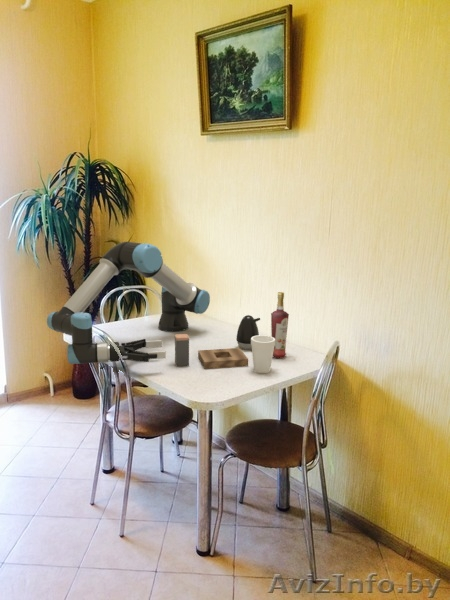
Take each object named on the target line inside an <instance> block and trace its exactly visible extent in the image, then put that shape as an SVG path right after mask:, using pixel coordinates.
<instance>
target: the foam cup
mask: <svg viewBox="0 0 450 600" xmlns="http://www.w3.org/2000/svg"><path fill="white" fill-rule="evenodd" d="M251 346H252V349H251V353H252V355H251V356H252V363H253V364H252V365H253V371H254V372H255V373H258V374H267V373H270V371H271V368H272V361H273V358H274V357H273V351H274V346H275V338H273V337H271V336H270V335H265V334H263V335H262V334H261V335H260V334H259V335H258V336H253V337H252V338H251Z"/></svg>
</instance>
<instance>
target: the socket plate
mask: <svg viewBox="0 0 450 600" xmlns="http://www.w3.org/2000/svg"><path fill="white" fill-rule="evenodd" d="M197 352H198V353H197V355H198V356H197V357H198V360H199V362H200V363H201V365H202V367H203V369H204V370H211V369H213V370H214V369H224V368H226V369H227V368H228V369H229V368H238V367H239V368H240V367H241V368H243V367H249V358H248V357H247V355H246V354H245V353H244V352H243V351H242V348H241V347H235V348H234V347H233V348H231V347H230V348H219V349H215V348H214V349H202V350H201V349H200V350H199V349H198V351H197Z"/></svg>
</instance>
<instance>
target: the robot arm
mask: <svg viewBox="0 0 450 600" xmlns="http://www.w3.org/2000/svg"><path fill="white" fill-rule="evenodd" d="M123 270H130V271H131V270H132V271H135V272H137V273H138V274H139V275H141V276H142V277H144V278H146V279H150V278H151V279H152V280H153V281H154V282H155V283H156V284H158V285H159V286H161V291H160V293H161V295H160V296H161V297H160V298H161V315H160V318H159V321H158V330H161V331H164V332H167V333H169V332H170V333H171V332H172V333H175V332H183V331H186V330H188V329H189V322H188V318H187V315H186V312H187V313H188V312H190V313H193V314H196V315H198V314H200V315H202V314H204V313H205V312H206V311H207V310H208V309H209V306H210V302H211V296H210V292H208V291H207V290H206V289H200V288H199V287H198V286H196V284H194V283H191V282H186V280H184V279H183V278H182V277H181V276H180V275H179V274H177V273H176V272H175V271H173V269H171V268H170V267H169V266H168V265H166V263H164V259H163V256H162V252H161V250H160V249H159V247H157V246H156V245H153V244H150V243H146V242H145V243H140V242H134V241H133V242H132V241H122V242H118V243H117V244H116V245H114V246H113V247H111V248H110V249H108V251H107V252H105V254H104V255H103V256H102V257H101V258H100V259H99V264H98V265H97V266H96V267H95V269H94V270H93V271H92V272H91V273H90V274H89V276H87V278H86V279H85V280H84V281H83V282H82V284H81V285H79V287H78V289H76V290H75V292H74V293H73V294H72V295H71V297H69V299H68V300H67V301H66V303H65V304H64V305H63V306H62V307H61V308H60V309H59V310H58V311H52V312H50V313H49V314H48V316H47V318H46V325H47V327H48V328H49V329H50V330H53V331H54V332H57V333H62V334H65V335H68V336H71V341H72V342H71V343H70V344H68V345H67V347H66V355H67V356H66V358H67V362H68V363H69V364H71V365H73V364H75V365H76V364H77V365H78V364H79V365H81V364H92V363H93V364H95V363H101V364H103V363H108V362H111V363H112V362H120V361H121V360H122V361H133V362H144V363H148V362H149V361H150V360H160V359H161V360H162V359H163V360H164V359H166V358H167V356H166V355H167V354H166V353H167V351H166V350H163V351H162V350H161V351H159V350H158V351H148V352H144V351H139V350H141V349H143V348H146V349H149V348H150V349H151V348H163V340H161V339H160V340H146V338H143V339H138V340H134V341H130V342H129V341H128V342H121V343H120V342H119V341H113V342H114V343H115V344H116V345H117V347H118V348H119V350H120V353H121V355H122V357H121V359H119V356H118V354H117V352H116V351H115V349H114V347H113V346H112V345H111V344H110V343H108V342H107V343H108V344H110V345H108V344H107V343H106V342H93V340H94V339H93V322H92V321H93V320H92V315H91V313H88V312H85V311H86V310H87V308H88V307H89V306H90V304H91V303H92V302H93V301H94V300H95V299H96V297H98V295H99V294H100V293H101V291H102V290H103V289H104V288H105V286H106V285H107V284H108V283H109V281H111V279H112V278H113V277H114V276H118V275H119V274H120V273H121V271H123Z"/></svg>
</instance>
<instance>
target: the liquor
mask: <svg viewBox="0 0 450 600" xmlns="http://www.w3.org/2000/svg"><path fill="white" fill-rule="evenodd" d="M284 298H285V292H284V291H283V292H282V291H281V292H280V291H279V292H277V304H276V309H275V310H274V311H273V312H271V313H270V321H271V322H270V323H271V324H270V325H271V326H270V327H271V330H270V331H271V337H273V338H275V346H274V351H273V357H272V358H275V359H283V358H285V356H287V352H286V348H287V334H288V328H289V327H288V326H289V315H290V314H289V313H288V312H287V311H285V310H284V309H285V308H284V307H285V306H284Z"/></svg>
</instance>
